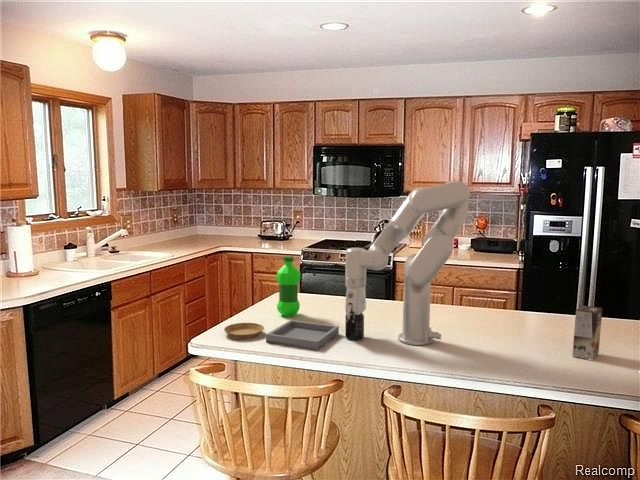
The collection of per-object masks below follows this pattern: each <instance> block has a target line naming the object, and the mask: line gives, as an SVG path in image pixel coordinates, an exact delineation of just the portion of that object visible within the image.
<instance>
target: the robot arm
mask: <svg viewBox="0 0 640 480" xmlns="http://www.w3.org/2000/svg"><path fill="white" fill-rule="evenodd" d="M470 195H471V192H470V188H469V186H468V184H466V183H465V182H463V181H461V180H460V181H459V180H449V181H447V182H445V183H442V184H439V185H433V186H427V187H420V186H419V187H416V188H414V189H412V191H411V192H410V193H409V194H408V195H407V197H406V198H405V200H404V201H403V203H401V205H400V207H398V209H397V211H395V213H394V215H393V216H392V217H391V218H390V220H389V221H388V222H387V224H386V226H385V227H384V229H383V230H382V231H381V232H380V234H379V235H378V237H376V239H375V240H374V242H373V243H372V244H371V246H370V247H369V249H367V250H366V249H365V248H363V247H349V248H347V249H346V251H345V263H344V264H345V267H344V268H345V270H344V271H345V272H344V273H345V274H344V275H345V277H344V286H345V287H346V292H345V306H344V307H345V317H346V318H347V332H348V333H355V332H356V322H355V317H356V315H359V314H361V313H362V314H363V315H364V311H366V309H367V302H366V301H367V298H366V297H367V296H366V287H367V270H372V271H382V270H383V269H385V268H386V267H387V266H388V263H389V257H390V254H391V253H392V252H393V251H394V250H395V248H396V247H397V245H398V244H399V243H400V242H402V241H403V240H404V239H405V238H407V237H408V236H410V234H411V233H412V232H413V231H414V229H415V228H416V227H417V225H418V224H419V222H420V221H421V220H422V218H423V217H424V216H425V215H426V214H428V213H433V212H439V211H441V214H440V215H439V217H438V218H437V219H436V221H435V222H434V224H433V225H432V226H431V228H430V229H429V230H428V232H427V233H426V234H425V235H424V237H423V239H422V247H421V248H420V249H419V251H418V252H417V253H412V254H411V255H409V256H408V257H407V258H406V260H405V262H404V265H403V300H402V301H403V302H402V303H403V304H402V307H403V308H402V332H401V333H399V334H398V336H397V340H398V341H399V342H401V343H404V344H406V345H410V346H411V345H412V346H425V345H426V346H427V345H430V344H432V343H433V342H434V339H435V340H441V339H442V334H441V333H440V332H438V331H433V330H432V327H430V320H431V319H430V318H431V317H430V316H431V298H432V297H431V296H432V295H431V293H432V291H431V290H432V283H431V282H432V281H433V280H434V279H435V278H436V276H437V275H438V274H439V272H440V271H441V270H442V269H443V267H444V265H445V264H446V263H447V261H448V260H449V259H450V257H451V256H452V253H453V252H454V245H455V244H454V241H453V240H455V238H456V237H457V235H458V233H459V231H460V230H461V229H462V227H463V226H464V224H465V222H466V220H467V217H468V215H469V199H470ZM351 312H354V314H353V313H351ZM351 315H352V316H353V318H352V316H351Z"/></svg>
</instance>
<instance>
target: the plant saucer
mask: <svg viewBox="0 0 640 480" xmlns="http://www.w3.org/2000/svg"><path fill="white" fill-rule="evenodd" d="M264 329H265V327H264V326H263V325H262V324H260V323H255V322H237V323H232V324H229V325H227V326H225V327H224V328H223V330H224V332H225V333H226V334H227V336H229V337H230V338H231V339H232V338H233V339H236V340H248V339H254V338H257V337H258V336H260V335H261V334H262V332H263V331H264Z"/></svg>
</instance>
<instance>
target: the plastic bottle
mask: <svg viewBox="0 0 640 480" xmlns="http://www.w3.org/2000/svg"><path fill="white" fill-rule="evenodd" d="M294 259H295V258H294V256H292V255H286V256H285V255H284V256H283V262H284V264H283V266H282V267H280V268H279V269H278V270H277V273H276V275H275V279H276V282H277V283H278V284H279V285H278V286H279V287H278V289H279V290H278V291H279V293H278V297H279V298H278V299H279V300H278V302H277V305H276V309H277V311H278V313H279V314H280V315H282V316H283V317H288V318H289V316H290V317H294V316H295V315H296V314H298V312H299V310H300V307H301V306H300V300H299V299H298V294H299V293H298V289H299V288H298V284H299V283H300V282H301V278H302V277H301V275H302V274H301V271H300V270H299V269H298V268H297V267H296V266H295V265H293V262H294Z"/></svg>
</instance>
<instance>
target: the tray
mask: <svg viewBox="0 0 640 480" xmlns="http://www.w3.org/2000/svg"><path fill="white" fill-rule="evenodd" d="M339 328H340V326H338V325H332V324H331V325H330V324H325V323H316V322H309V321H302V320H292V319H290V320H289V321H286V322H285V323H283V324H281V325H280V326H279V327H277V328H274V329H273V330H271V331H269V332H268V333H266V334H265V342H266V343H267V344H273V345H281V346H287V347H293V348H300V349H306V350H313V351H319V350H320V349H321V348H322V347H324V346H325V345H327V344H328V343H330V342H331V341H332V340H333V339H334V338H336V337H337V336H338V335H339V334H340V333H339V332H340V331H339V330H340V329H339Z"/></svg>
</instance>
